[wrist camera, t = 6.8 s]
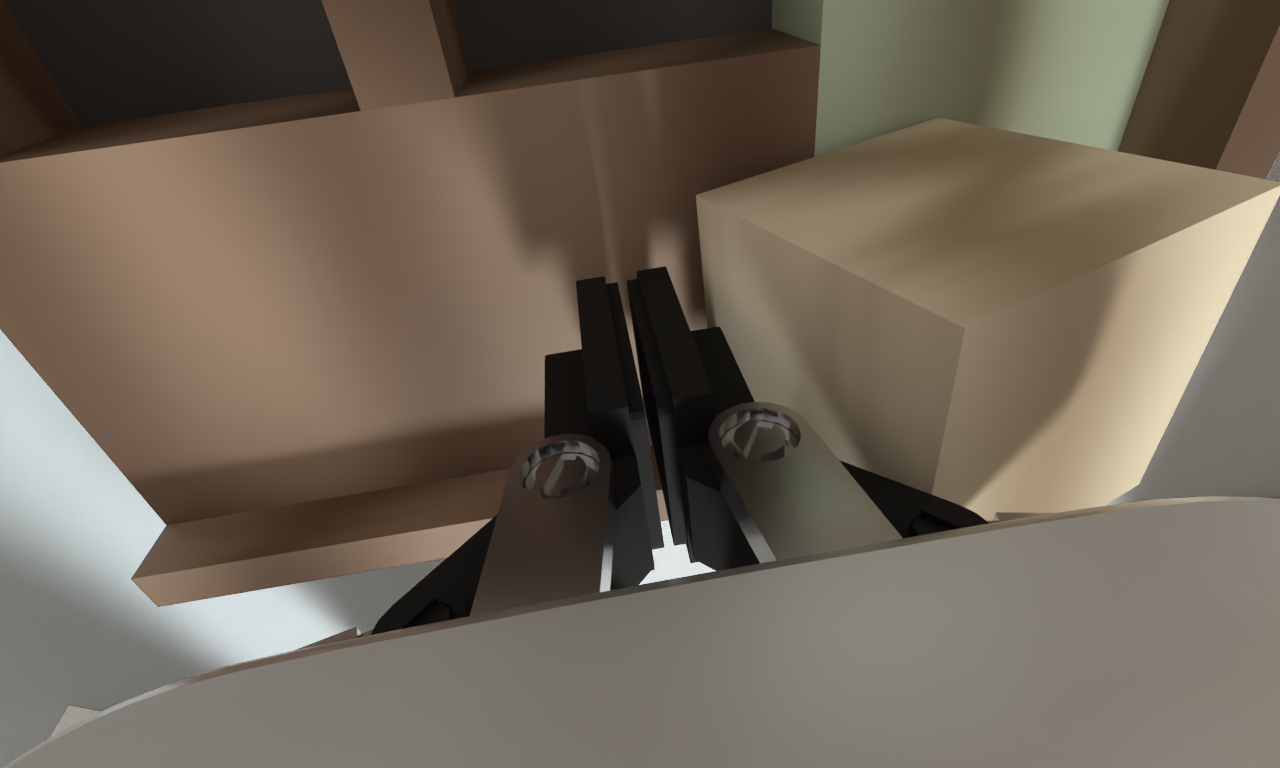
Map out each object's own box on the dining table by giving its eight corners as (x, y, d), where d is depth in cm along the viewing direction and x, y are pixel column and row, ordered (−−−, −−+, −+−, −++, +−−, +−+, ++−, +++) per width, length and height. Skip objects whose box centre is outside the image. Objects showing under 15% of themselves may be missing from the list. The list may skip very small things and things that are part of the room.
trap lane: (1263, -617, 9) (1910, -1127, 4) (996, 344, 18) (1126, 459, 14) (-381, -441, 8) (-1399, -872, 4) (240, 467, 17) (145, 627, 13)
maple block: (938, 117, 11) (1286, 182, 7) (905, 350, 14) (1138, 485, 10) (695, 195, 9) (965, 329, 6) (716, 434, 12) (904, 629, 9)
